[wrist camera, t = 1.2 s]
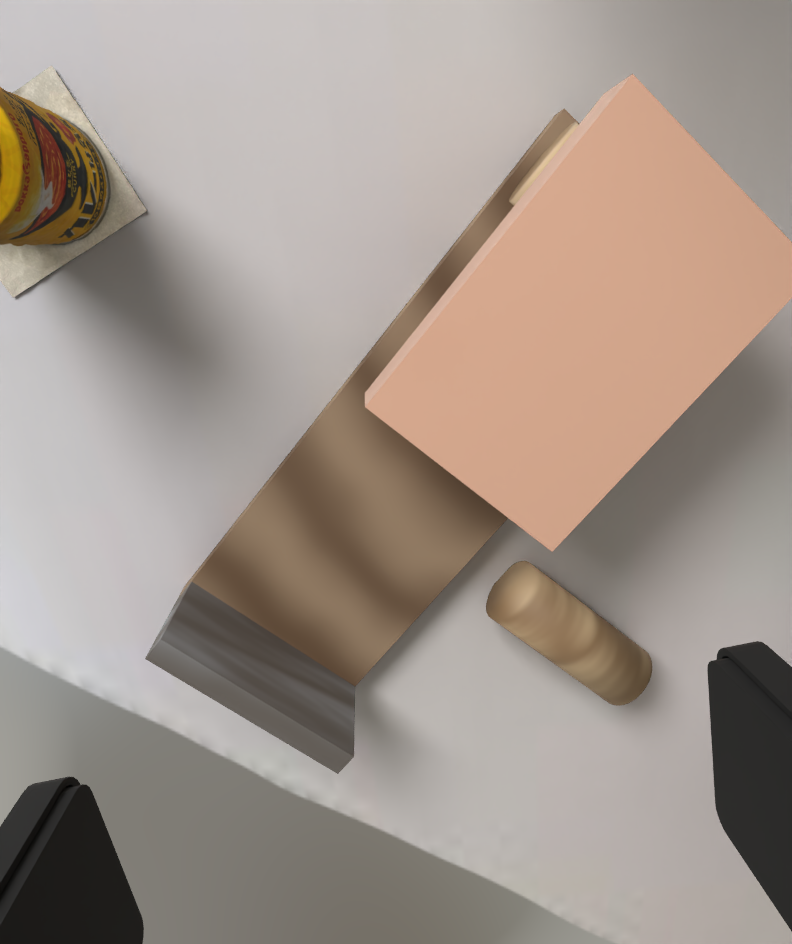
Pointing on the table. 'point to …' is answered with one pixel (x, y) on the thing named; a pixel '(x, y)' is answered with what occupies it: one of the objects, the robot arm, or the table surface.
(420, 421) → the pink toy brick
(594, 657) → the roller
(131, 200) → the condiment
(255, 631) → the track
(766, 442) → the table surface
